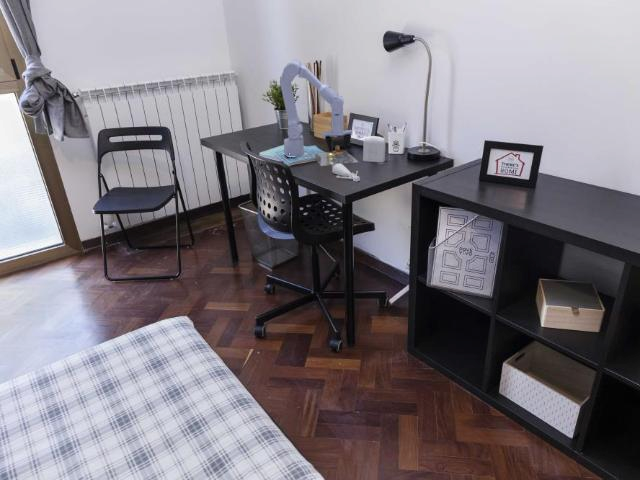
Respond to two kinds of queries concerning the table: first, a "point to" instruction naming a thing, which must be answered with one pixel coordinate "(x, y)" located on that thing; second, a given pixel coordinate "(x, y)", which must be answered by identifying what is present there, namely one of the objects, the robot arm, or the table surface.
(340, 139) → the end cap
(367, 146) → the photo printer
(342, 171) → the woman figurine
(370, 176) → the table surface
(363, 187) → the table surface
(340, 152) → the gear
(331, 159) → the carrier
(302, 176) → the table surface
